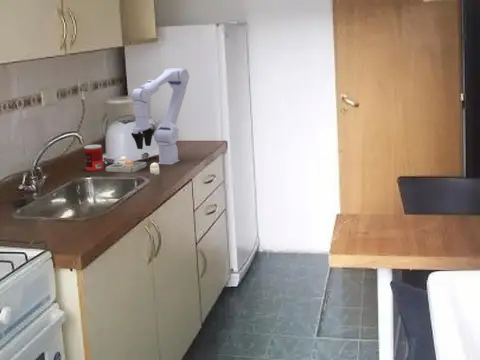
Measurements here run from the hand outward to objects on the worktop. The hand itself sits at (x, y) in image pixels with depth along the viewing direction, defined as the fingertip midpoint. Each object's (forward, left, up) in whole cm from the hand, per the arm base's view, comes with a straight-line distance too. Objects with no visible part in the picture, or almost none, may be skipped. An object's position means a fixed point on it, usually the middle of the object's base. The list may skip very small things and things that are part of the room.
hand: (144, 147), depth 296 cm
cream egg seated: (-1, -11, -9) cm, 14 cm away
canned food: (+6, -22, -10) cm, 25 cm away
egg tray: (+2, -8, -10) cm, 13 cm away
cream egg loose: (+7, +8, -10) cm, 15 cm away
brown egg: (+6, -5, -9) cm, 12 cm away
